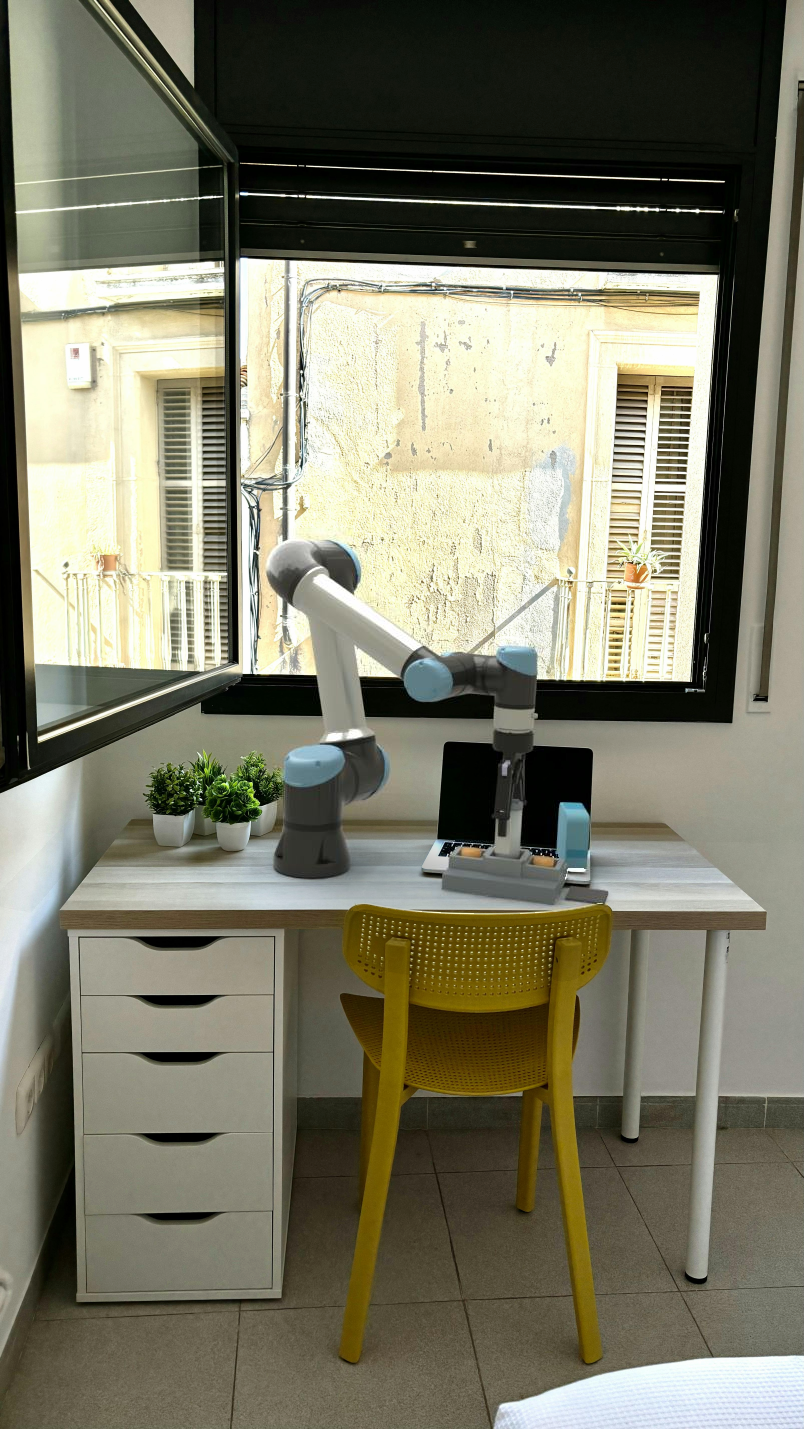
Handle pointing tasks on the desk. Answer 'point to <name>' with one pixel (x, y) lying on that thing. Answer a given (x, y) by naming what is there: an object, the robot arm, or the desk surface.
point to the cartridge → (514, 830)
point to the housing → (504, 876)
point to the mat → (586, 895)
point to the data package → (573, 834)
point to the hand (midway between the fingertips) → (507, 845)
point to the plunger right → (543, 861)
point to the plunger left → (471, 852)
